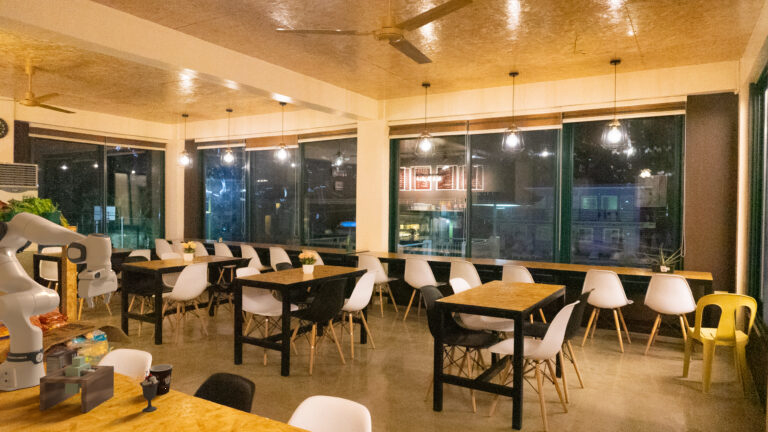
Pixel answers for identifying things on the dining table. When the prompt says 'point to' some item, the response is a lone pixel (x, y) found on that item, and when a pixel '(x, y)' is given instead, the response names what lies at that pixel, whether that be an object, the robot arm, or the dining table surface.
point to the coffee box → (59, 360)
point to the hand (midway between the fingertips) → (98, 305)
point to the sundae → (149, 390)
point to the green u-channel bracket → (76, 373)
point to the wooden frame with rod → (93, 387)
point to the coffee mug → (162, 377)
